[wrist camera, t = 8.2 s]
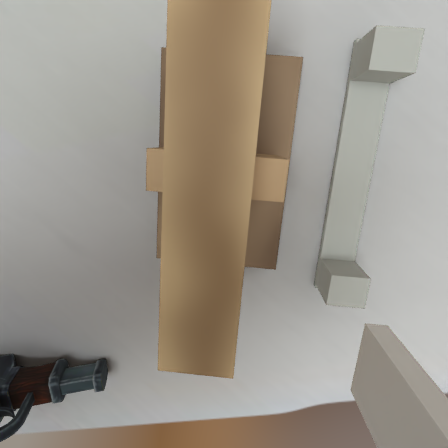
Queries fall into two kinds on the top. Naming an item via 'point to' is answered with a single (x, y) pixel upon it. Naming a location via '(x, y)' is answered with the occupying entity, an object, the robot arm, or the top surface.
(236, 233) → the bar
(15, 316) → the top surface
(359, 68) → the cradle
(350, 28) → the top surface
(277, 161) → the fulcrum
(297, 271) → the top surface
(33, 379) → the gun
